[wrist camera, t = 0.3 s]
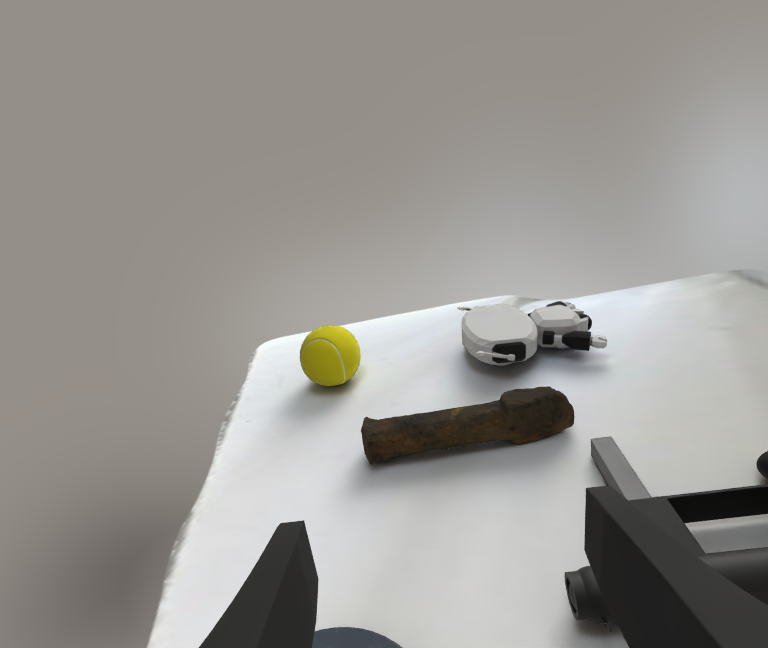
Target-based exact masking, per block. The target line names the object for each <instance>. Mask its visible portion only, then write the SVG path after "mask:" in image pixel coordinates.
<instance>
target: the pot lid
mask: <svg viewBox="0 0 768 648" xmlns="http://www.w3.org/2000/svg"><path fill="white" fill-rule="evenodd" d="M312 648H402V647H401V646H399V645H398V644H397V643H395V642H394V641H392V640H390V639H388V638H387V637H385V636H383V635H380V634H378V633H375V632H373V631H369V630H364V629H360V628H351V627H338V628H329V629H323V630H319V631H315V632H314V638H313V644H312Z"/></svg>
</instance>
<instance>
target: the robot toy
mask: <svg viewBox="0 0 768 648" xmlns="http://www.w3.org/2000/svg"><path fill="white" fill-rule="evenodd" d="M458 309H459V310H468V312H467V313H466V314H465V315H464V316H463V318H462V344H463V345H464V346H465V348H466V349H467V350H468V352H469V353H470V354H472V355H473V356H474V357H475V358H477V359H478V360H480V361H482V362H485V363H488V364H491V365H499V366H504V365H508V364H510V363H513V362H522V361H526V360H527V359H528V358H530V357H531V356H533V355H534V354H535V352H536V351H537V343H538V344H539V345H540V346H541V347H557V348H558V349H563V348H571V349H575V350H586V351H589V348H590V345H591V346H593V347H595V348H605V347H606V346H607V339H606V338H605V337H602V336H595V337H591V332H588V330H589V329H590V328H591V325H592V320H591V319H590V317H589V316H587V315H585V314H583V312H584V311H581V310H579V309H575V305H573V304H571V303H568V302H561V301H558V302H555V303H552V304H549V305H547V306H546V307H543V308H539V309H535V310H534V311H533V312H532V313H529V314H528V315H527V314H526V313H524V312H523V311H522V310H520V309H518V308H517V307H515V306H511V305H507V304H497V305H488V306H479V307H474V308H466V307H462V306H460V307H458ZM590 337H591V338H590Z"/></svg>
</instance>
